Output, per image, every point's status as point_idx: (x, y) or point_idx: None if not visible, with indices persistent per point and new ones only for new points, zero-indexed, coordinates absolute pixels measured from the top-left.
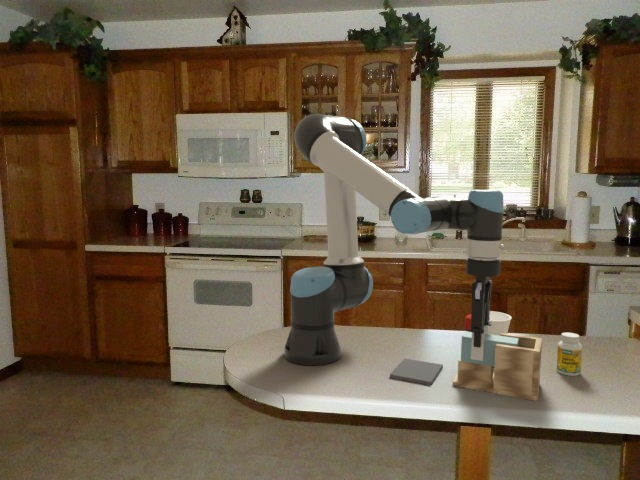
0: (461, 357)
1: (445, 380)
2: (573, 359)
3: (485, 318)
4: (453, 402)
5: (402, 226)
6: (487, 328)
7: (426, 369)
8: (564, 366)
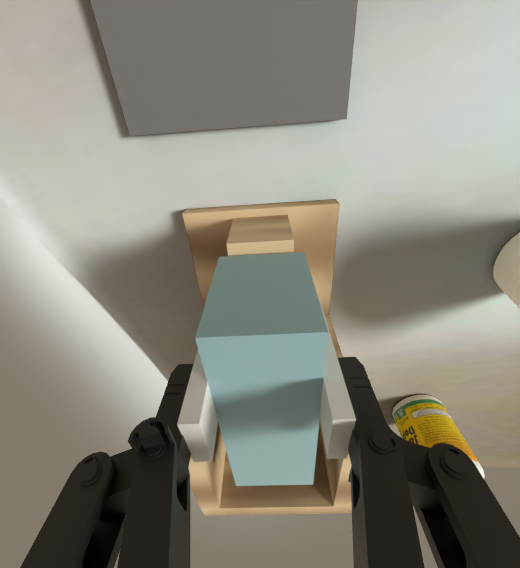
0: (217, 267)
1: (215, 172)
2: None
3: (354, 518)
4: (74, 243)
5: None
6: (326, 450)
7: (249, 57)
8: (403, 422)
